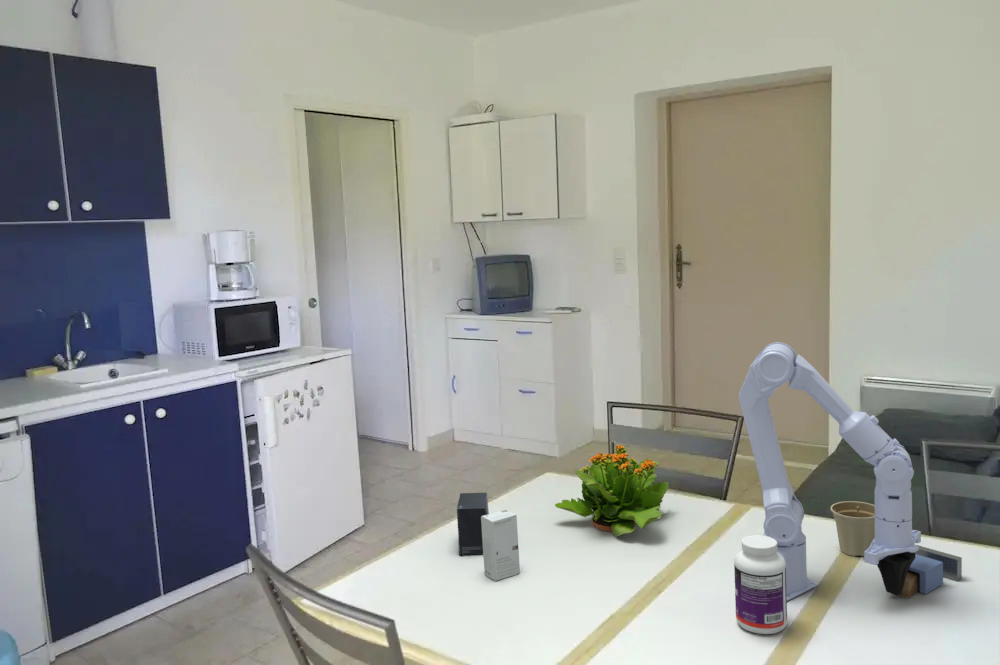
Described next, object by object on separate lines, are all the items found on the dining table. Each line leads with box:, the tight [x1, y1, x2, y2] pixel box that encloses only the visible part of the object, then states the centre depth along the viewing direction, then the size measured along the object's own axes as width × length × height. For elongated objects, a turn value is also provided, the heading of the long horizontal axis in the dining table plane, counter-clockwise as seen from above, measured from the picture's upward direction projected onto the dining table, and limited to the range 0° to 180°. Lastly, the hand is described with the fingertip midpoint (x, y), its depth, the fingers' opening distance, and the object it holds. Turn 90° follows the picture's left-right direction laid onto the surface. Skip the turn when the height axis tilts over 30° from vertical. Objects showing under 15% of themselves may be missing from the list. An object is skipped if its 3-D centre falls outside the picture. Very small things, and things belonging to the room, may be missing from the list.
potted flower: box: [554, 444, 669, 538], centre depth 178 cm, size 25×24×18 cm
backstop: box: [914, 544, 963, 582], centre depth 144 cm, size 2×8×4 cm, turn 35°
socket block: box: [909, 554, 944, 595], centre depth 140 cm, size 6×6×4 cm
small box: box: [456, 492, 490, 556], centre depth 171 cm, size 11×6×10 cm, turn 179°
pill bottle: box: [733, 534, 788, 635], centre depth 129 cm, size 8×8×14 cm
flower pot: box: [829, 500, 875, 558], centre depth 155 cm, size 9×9×9 cm
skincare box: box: [481, 509, 521, 582], centre depth 155 cm, size 6×4×12 cm
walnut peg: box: [890, 570, 920, 599], centre depth 138 cm, size 6×3×3 cm, turn 131°
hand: (893, 592), depth 136 cm, fingers closed
